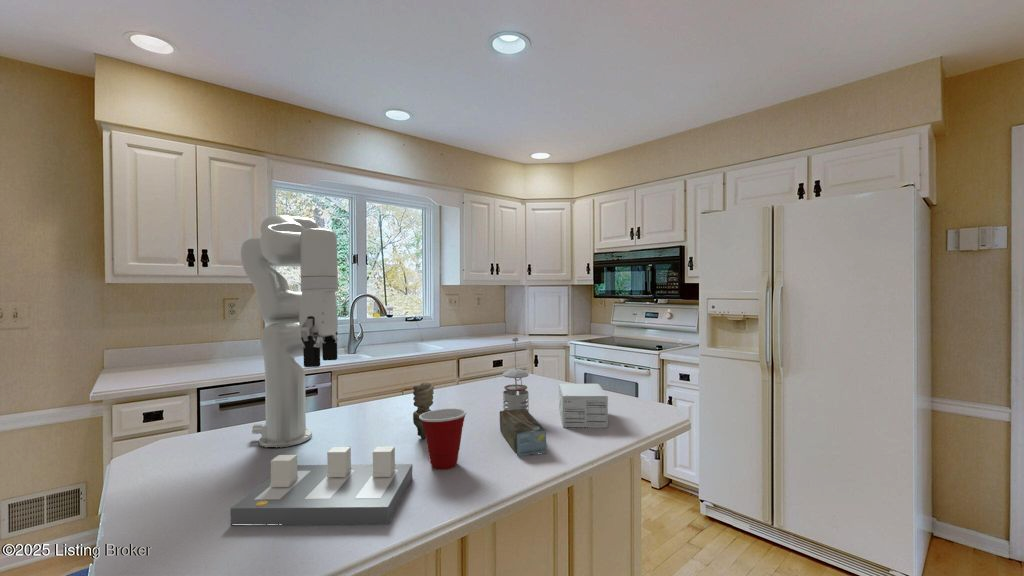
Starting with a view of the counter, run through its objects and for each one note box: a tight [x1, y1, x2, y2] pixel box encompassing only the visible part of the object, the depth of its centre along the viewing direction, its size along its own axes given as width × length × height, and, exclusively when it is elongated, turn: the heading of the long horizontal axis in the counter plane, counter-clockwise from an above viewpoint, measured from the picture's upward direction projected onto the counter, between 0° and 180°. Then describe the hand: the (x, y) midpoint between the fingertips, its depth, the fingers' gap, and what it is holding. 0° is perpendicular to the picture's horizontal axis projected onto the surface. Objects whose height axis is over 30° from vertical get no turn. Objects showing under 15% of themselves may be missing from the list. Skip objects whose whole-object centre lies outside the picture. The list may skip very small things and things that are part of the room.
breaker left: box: [270, 454, 298, 487], centre depth 83 cm, size 4×4×5 cm
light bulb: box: [412, 381, 435, 440], centre depth 116 cm, size 6×6×15 cm
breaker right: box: [372, 445, 396, 477], centre depth 87 cm, size 4×4×5 cm
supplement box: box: [558, 383, 609, 429], centre depth 132 cm, size 17×13×9 cm
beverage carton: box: [499, 409, 548, 457], centre depth 113 cm, size 8×19×7 cm, turn 14°
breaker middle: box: [326, 446, 352, 477], centre depth 87 cm, size 4×4×5 cm
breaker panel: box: [230, 463, 413, 526], centre depth 83 cm, size 27×18×3 cm, turn 90°
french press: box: [502, 336, 530, 413], centre depth 134 cm, size 10×12×25 cm
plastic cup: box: [419, 408, 467, 471], centre depth 99 cm, size 11×11×12 cm
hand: (321, 363), depth 95 cm, fingers open, 9 cm apart
